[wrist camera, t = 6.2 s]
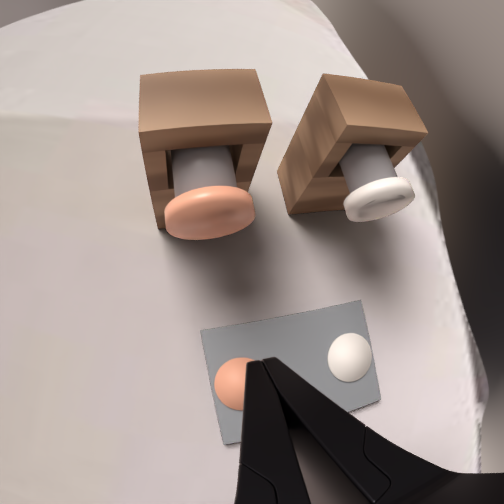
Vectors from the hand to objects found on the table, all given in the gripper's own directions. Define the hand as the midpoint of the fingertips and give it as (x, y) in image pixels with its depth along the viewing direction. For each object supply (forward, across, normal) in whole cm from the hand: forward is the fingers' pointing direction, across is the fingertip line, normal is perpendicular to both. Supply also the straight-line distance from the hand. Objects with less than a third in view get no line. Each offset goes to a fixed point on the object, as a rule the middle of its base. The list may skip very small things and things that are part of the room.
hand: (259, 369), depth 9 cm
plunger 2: (+13, -10, -2) cm, 16 cm away
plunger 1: (+13, 0, -2) cm, 13 cm away
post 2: (+18, -10, +1) cm, 20 cm away
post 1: (+18, 0, +1) cm, 18 cm away
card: (+8, -5, +10) cm, 14 cm away
